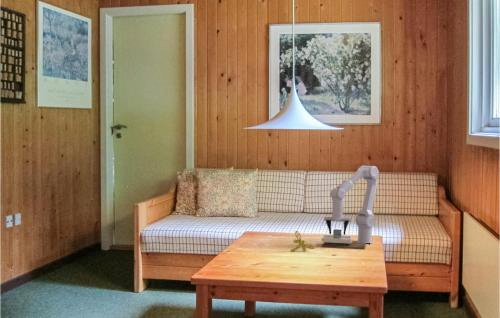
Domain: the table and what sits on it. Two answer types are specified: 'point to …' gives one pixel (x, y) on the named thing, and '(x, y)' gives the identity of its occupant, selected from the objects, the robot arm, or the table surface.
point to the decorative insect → (301, 243)
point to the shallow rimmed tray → (334, 240)
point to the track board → (343, 245)
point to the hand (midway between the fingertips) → (337, 234)
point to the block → (337, 233)
